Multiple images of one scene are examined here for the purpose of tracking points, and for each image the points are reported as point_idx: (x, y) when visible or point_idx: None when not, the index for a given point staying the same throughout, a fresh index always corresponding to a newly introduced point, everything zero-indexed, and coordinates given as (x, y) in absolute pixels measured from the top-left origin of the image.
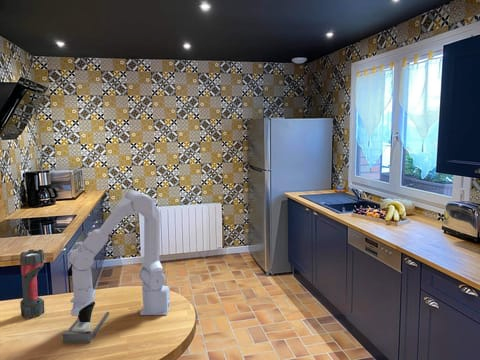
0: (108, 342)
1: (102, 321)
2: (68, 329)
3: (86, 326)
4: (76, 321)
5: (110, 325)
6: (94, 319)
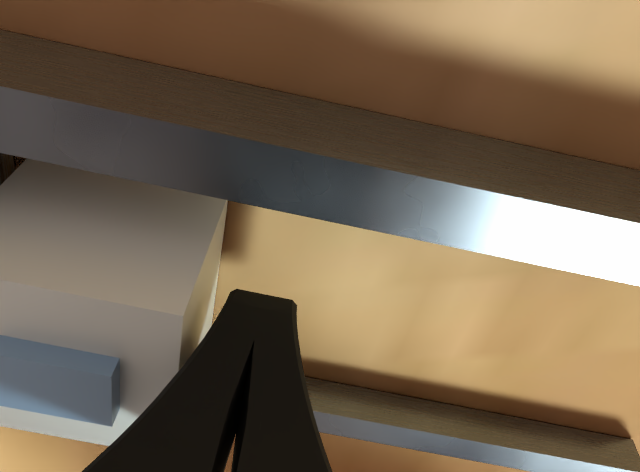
0: (16, 455)
1: (393, 443)
2: (120, 114)
3: (41, 427)
4: (425, 202)
5: (340, 464)
6: (570, 335)
